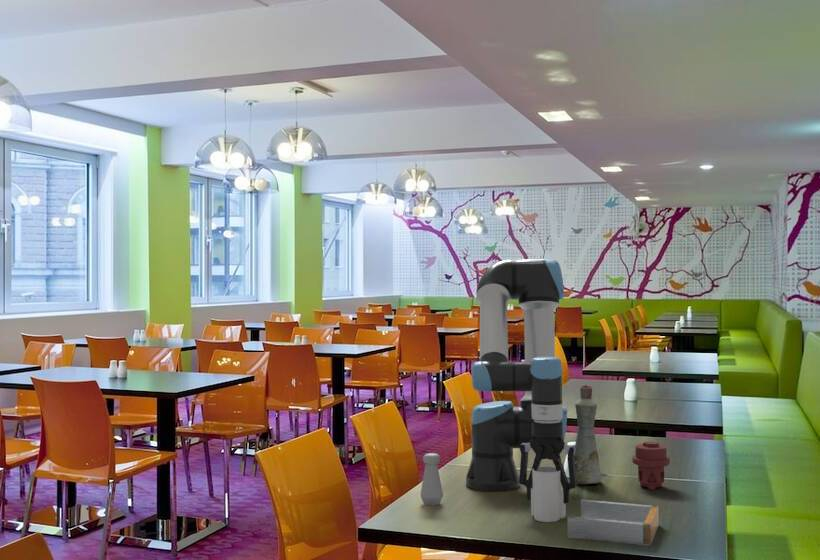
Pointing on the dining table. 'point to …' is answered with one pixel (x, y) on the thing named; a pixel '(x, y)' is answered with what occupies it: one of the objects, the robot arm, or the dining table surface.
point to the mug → (546, 494)
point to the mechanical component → (650, 464)
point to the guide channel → (615, 522)
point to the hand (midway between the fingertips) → (548, 514)
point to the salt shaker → (431, 481)
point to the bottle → (586, 440)
